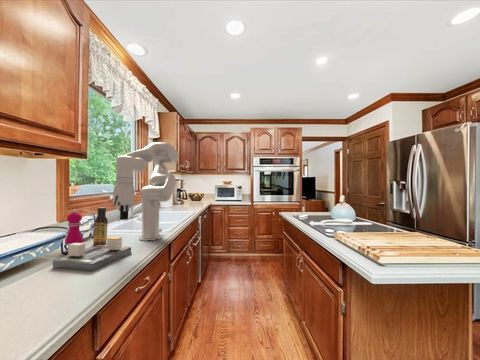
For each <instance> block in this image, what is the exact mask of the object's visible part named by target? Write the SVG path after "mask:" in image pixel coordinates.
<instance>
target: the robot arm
mask: <svg viewBox="0 0 480 360" xmlns="http://www.w3.org/2000/svg"><path fill="white" fill-rule="evenodd" d="M179 159H180V156H179V152H178V151H177V149H176V148H175V147H174V146H173V145H172V144H170V143H169V142H166V141H165V142H164V141H163V142H155V141H154V142H151V143H149V144H148V145H147V146H144V148H142V149H137V150H135V151H132V152H128V153H126V154H124V155H118V156H117V157H116V163H115V166H116V169H115V184H114V187H113V192H112V205H113V206H114V208H115V209H118V211H119V219H120V221H121V220H122V221H126V220H129V212H130V208H131V207H133V205H134V203H135V185H134V179H135V177H134V175H135V174H134V173H142V172H144V171H145V170H146V169H147V164H149V163H152V162H153V165H154V169H153V172H152V173H151V176H150V178H149V181H148V184H149V185H146V186H144V187H141V190H140V200H141V211H142V212H141V213H142V214H141V235H139V237H138V239H139V240H140V241H142V242H143V241H145V242H148V240H151V241H156V239H157V240H160V239H162V234H160V233H161V232H162V231H163V230H162V228H160V207H159V205H158V204H157V202H158V203H166V202H169V201H170V200H171V198H172V195H173V192H174V190H175V186H176V184H177V183H176V182H177V180H176V176H175V175H174V174H173V173H168V172H169V170H168V168H167V166H166V165H165V164H171V163H174V164H175V163H177V162H179Z"/></svg>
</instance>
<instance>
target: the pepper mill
mask: <svg viewBox="0 0 480 360" xmlns="http://www.w3.org/2000/svg"><path fill="white" fill-rule="evenodd" d="M82 219H83V216H82V214H81V213H80V212H78V211H77V209H72V212H71V213H69V214H68V215H67V216H66V221H67V222H68V223H67V226H68V228H69V229H68V232H67V235H66V237H65V240H64V244H65V245H66V244H67V243H70V244H72V243H83V242H84V238H83V235H82V233H81V231H80V230H81V229H80V225H81V221H82Z"/></svg>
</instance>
